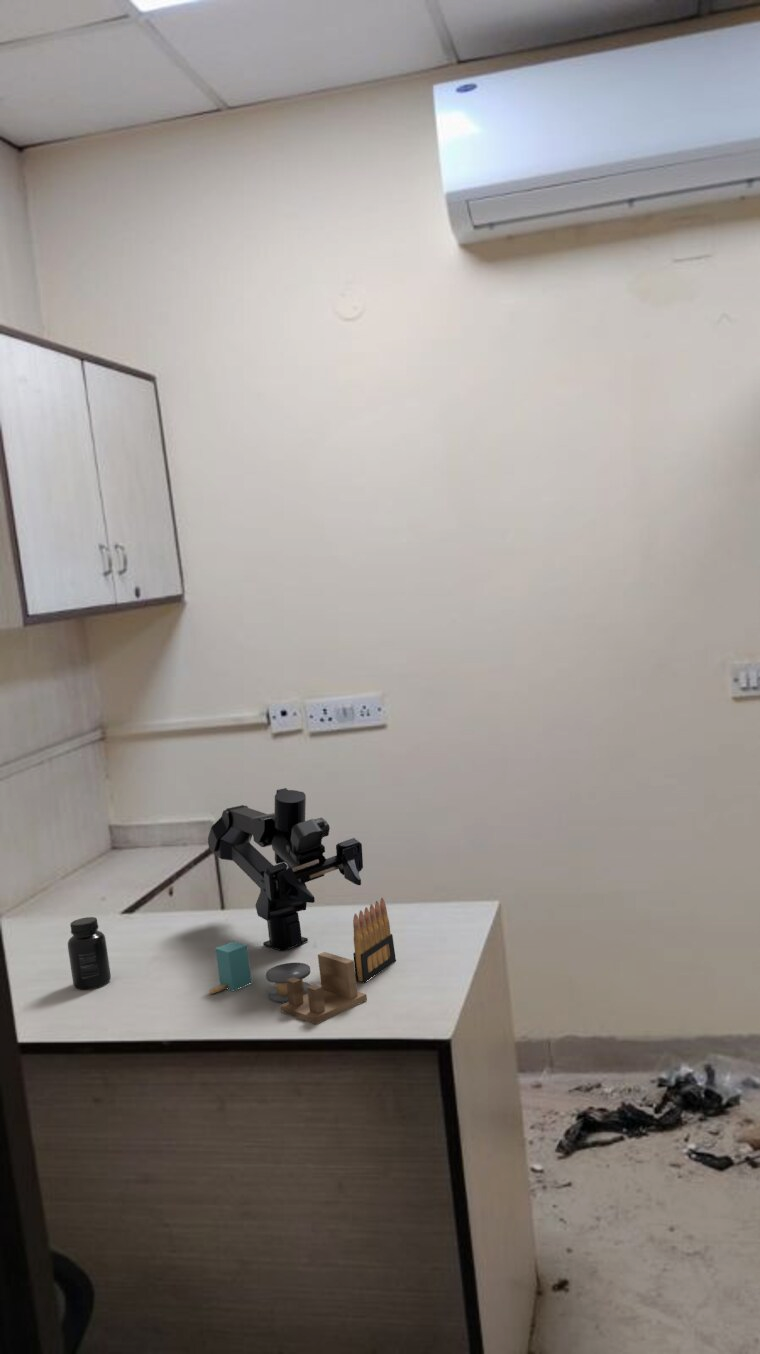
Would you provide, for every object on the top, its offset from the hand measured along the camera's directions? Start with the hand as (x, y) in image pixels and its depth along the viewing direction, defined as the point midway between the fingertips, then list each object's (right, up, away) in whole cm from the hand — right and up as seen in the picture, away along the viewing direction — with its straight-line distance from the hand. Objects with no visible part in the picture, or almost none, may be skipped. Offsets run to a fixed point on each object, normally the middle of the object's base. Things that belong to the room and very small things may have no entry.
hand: (337, 891), depth 179 cm
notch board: (-2, -17, -9) cm, 19 cm away
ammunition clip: (+7, -15, +3) cm, 17 cm away
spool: (-8, -17, -3) cm, 19 cm away
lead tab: (-19, -18, +3) cm, 26 cm away
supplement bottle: (-46, -20, +13) cm, 52 cm away
